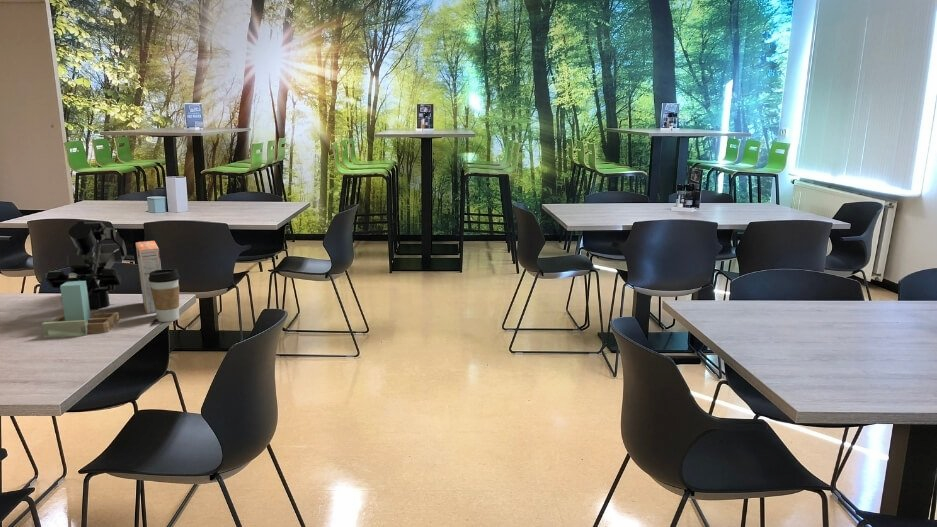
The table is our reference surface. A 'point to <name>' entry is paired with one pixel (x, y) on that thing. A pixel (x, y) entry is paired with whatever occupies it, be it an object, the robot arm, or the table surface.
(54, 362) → the table surface
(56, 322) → the trap channel
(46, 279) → the robot arm
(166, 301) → the coffee cup
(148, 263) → the cracker box
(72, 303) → the block
